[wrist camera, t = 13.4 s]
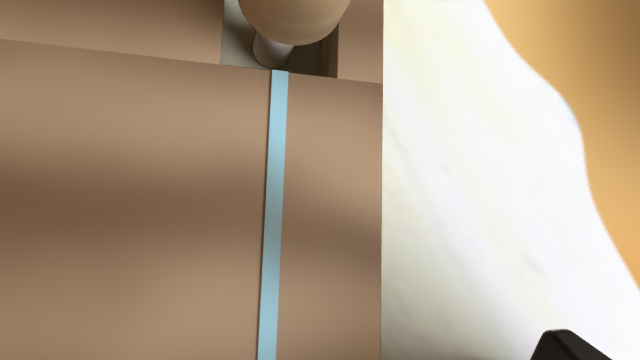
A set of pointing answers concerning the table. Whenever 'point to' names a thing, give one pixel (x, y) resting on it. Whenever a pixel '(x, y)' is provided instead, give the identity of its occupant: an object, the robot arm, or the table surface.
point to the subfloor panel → (185, 188)
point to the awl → (289, 25)
